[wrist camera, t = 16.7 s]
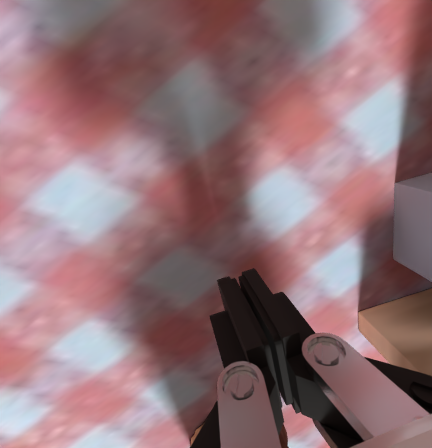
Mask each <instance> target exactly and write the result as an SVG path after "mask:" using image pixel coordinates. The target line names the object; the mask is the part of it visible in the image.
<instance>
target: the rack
mask: <svg viewBox="0 0 432 448" xmlns="http://www.w3.org/2000/svg"><path fill="white" fill-rule="evenodd" d="M358 317H359V331H360V332H361V333H362V335H363V336H364V337H365V338H366V339H367V340H368V341H369V342H370V343H371V344H372V345H373V346H374V347H375V348H376V349H377V351H378V352H379V353H380V354H381V355H382V356H383V357H384V358H385V359H386V360H387V361H388V362H389V363H390V364H391V365H395V366H399V367H402V368H406V369H410V370H413V371H417V372H421V373H424V374H428V375H430V376H432V288H431V289H428V290H425V291H422V292H419V293H416V294H412V295H409V296H406V297H403V298H400V299H397V300H394V301H391V302H388V303H384V304H381V305H378V306H375V307H372V308H369V309H366V310H363V311H360V312H358Z"/></svg>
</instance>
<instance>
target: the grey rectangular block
mask: <svg viewBox="0 0 432 448" xmlns="http://www.w3.org/2000/svg"><path fill="white" fill-rule="evenodd" d="M393 259H394V260H395V261H397V262H399V263H400V264H402V265H404V266H406V267H407V268H409V269H411V270H412V271H414V272H416V273H417V274H419V275H421V276H423V277H424V278H426V279H428V280H429V281H431V282H432V172H431V173H428V174H424V175H421V176H417V177H414V178H410V179H407V180H403V181H400V182H396V183H395V187H394V233H393Z"/></svg>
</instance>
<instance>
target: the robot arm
mask: <svg viewBox="0 0 432 448" xmlns="http://www.w3.org/2000/svg"><path fill="white" fill-rule="evenodd" d="M238 278H239V283H240V286H239V284H238V283H237V281H236V279H235V278H233V279H230V277H229V276H228V277H225V278H222V279H219V280H217V282H218V286H219V290H220V293H221V297H222V301H223V304H224V308H225V311H223V312H220V313H217V314H214V315H211V316H210V320H211V324H212V327H213V331H214V334H215V338H216V341H217V345H218V348H219V352H220V355H221V359H222V363H223V366H224V370H223V371H222V372H221V373H220V375H219V378H218V380H217V397H218V400H217V402H216V404H215V405H214V407H213V409H212V411H211V412H210V414H209V416H208V417H207V419H206V421H205V423H204V424H203V426H202V428H201V429H200V431H199V433H198V435H197V436H196V438H195V440H194V441H193V443H192V445H191V447H190V448H281V444H280V440H279V434H280V431H281V428H282V425H283V423H284V419H283V414H282V410H281V407H282V402H281V398H280V393H281V395H282V398H283V400H284V402H285V404H286V405H289V404H292V406H293V408H294V410H295V412H296V414H297V413H299V412H301V413H302V414H303V415H305V416H307V417H310V418H312V419H313V422H314V424H315V426H316V428H317V429H318V431H319V432H320V433H321V435H322V436H323V438H324V439H325V440H326V442H327V443H328V445H329V446H330V447H331V448H432V376H430V375H428V374H424V373H421V372H417V371H413V370H410V369H406V368H402V367H399V366H395V365H391V364H388V363H384V362H381V361H377V360H373V359H370V358H366V357H363V356H362V355H361V354H360V353H358V352H357V351H356V350H355V349H354V348H353V347H351V346H350V345H349V344H348V343H347V342H346V341H344V340H343V339H342V338H340V337H339V336H336V335H333V334H330V333H315V332H314V331H313V329H312V328H311V327H310V326H309V324H308V323H307V322H306V320H305V319H304V318H303V317H302V315H301V314H300V313H299V311H298V310H297V309H296V308H295V306H294V305H293V304H292V303H291V301H290V300H289V299H288V297H287V296H286V295H285V294H284V293H283V292H279V293H276V294H272V293H271V291H270V290H269V288H268V287H267V285H266V284H265V283H264V281H263V280H262V278H261V277H260V275H259V274H258V273H257V271H256V270H255V269H254V268H253V269H250V270H247V271H244V272H242V276H240V277H238ZM240 287H241V288H240ZM279 391H280V393H279Z"/></svg>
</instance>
